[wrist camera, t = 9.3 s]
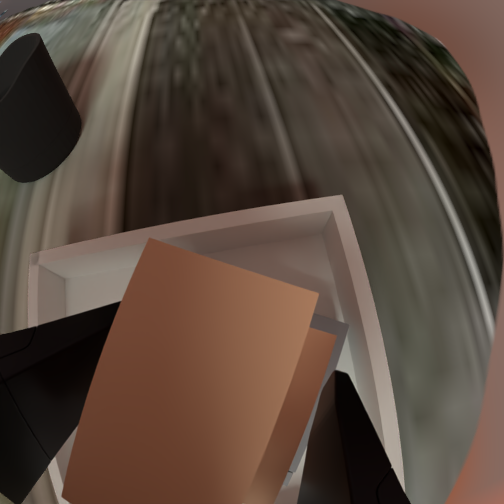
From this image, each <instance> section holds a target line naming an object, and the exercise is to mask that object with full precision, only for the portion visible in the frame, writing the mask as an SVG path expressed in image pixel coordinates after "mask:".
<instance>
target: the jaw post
mask: <svg viewBox="0 0 504 504" xmlns="http://www.w3.org/2000/svg"><path fill="white" fill-rule="evenodd" d="M318 296H319V293H316V292H313V291H310V290H307V289H304V288H301V287H298V286H294V285H291V284H288V283H285V282H282V281H279V280H276V279H273V278H270V277H266V276H263V275H260V274H257V273H254V272H251V271H248V270H245V269H242V268H239V267H236V266H233V265H230V264H227V263H224V262H221V261H218V260H215V259H212V258H209V257H206V256H203V255H200V254H197V253H194V252H191V251H188V250H185V249H182V248H179V247H176V246H173V245H170V244H167V243H164V242H161V241H158V240H155V239H152V238H150V237H149V239H148V241H147V243H146V245H145V247H144V250H143V252H142V254H141V256H140V259H139V261H138V263H137V265H136V268H135V270H134V272H133V274H132V277H131V279H130V281H129V284H128V286H127V289H126V291H125V293H124V296H123V298H122V301H121V303H120V306H119V308H118V311H117V313H116V316H115V318H114V321H113V323H112V326H111V329H110V331H109V334H108V337H107V339H106V342H105V345H104V348H103V350H102V353H101V356H100V359H99V362H98V365H97V367H96V370H95V373H94V376H93V379H92V382H91V385H90V389H89V392H88V395H87V398H86V401H85V405H84V408H83V411H82V415H81V418H80V421H79V425H78V429H77V432H76V436H75V440H74V443H73V447H72V451H71V455H70V459H69V463H68V467H67V472H66V476H65V481H64V485H63V490H62V495H61V497H62V498H63V499H65V500H66V501H68V502H69V503H71V504H242V503H244V504H274V502H275V500H276V498H277V496H278V493H279V491H280V489H281V487H282V485H283V482H284V480H285V478H286V475H287V473H288V471H289V469H290V466H291V464H292V461H293V459H294V457H295V454H296V452H297V449H298V447H299V444H300V442H301V439H302V437H303V434H304V432H305V429H306V426H307V424H308V421H309V418H310V416H311V413H312V410H313V407H314V405H315V402H316V399H317V396H318V393H319V390H320V387H321V384H322V382H323V379H324V376H325V372H326V369H327V366H328V363H329V360H330V357H331V354H332V350H333V347H334V344H335V341H336V337H337V335H333V334H330V333H327V332H323V331H320V330H317V329H314V328H310V327H309V326H310V322H311V319H312V316H313V313H314V309H315V306H316V303H317V299H318Z"/></svg>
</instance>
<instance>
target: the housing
mask: <svg viewBox="0 0 504 504" xmlns="http://www.w3.org/2000/svg"><path fill="white" fill-rule="evenodd" d="M149 237H150V238H152V239H155V240H158V241H161V242H164V243H167V244H170V245H173V246H176V247H179V248H182V249H185V250H188V251H191V252H194V253H197V254H200V255H203V256H206V257H209V258H212V259H215V260H218V261H221V262H224V263H227V264H230V265H233V266H236V267H239V268H242V269H245V270H248V271H251V272H254V273H257V274H260V275H263V276H266V277H270V278H273V279H276V280H279V281H282V282H285V283H288V284H291V285H294V286H298V287H301V288H304V289H307V290H310V291H313V292H316V293H319V296H318V299H317V303H316V306H315V309H314V313H313V316H312V319H311V322H310V326H309V327H310V328H314V329H317V330H320V331H323V332H327V333H330V334H333V335H337V337H336V341H335V344H334V347H333V350H332V354H331V357H330V360H329V363H328V366H327V369H326V372H325V376H324V379H323V382H322V384H321V387H320V390H319V393H318V396H317V399H316V402H315V405H314V407H313V410H312V413H311V416H310V418H309V421H308V424H307V426H306V429H305V432H304V434H303V437H302V439H301V442H300V444H299V447H298V449H297V452H296V454H295V457H294V459H293V461H292V464H291V466H290V469H289V471H288V473H287V475H286V478H285V480H284V482H283V485H282V487H281V489H280V491H279V493H278V496H277V498H276V500H275V502H274V504H297V500H298V495H299V490H300V484H301V479H302V474H303V468H304V462H305V456H306V450H307V444H308V439H309V435H310V431H311V428H312V424H313V421H314V417H315V413H316V410H317V406H318V402H319V398H320V395H321V391H322V389H323V387H324V385H325V384H326V382H327V380H328V379H329V377H330V375H331V374H332V372H333V371H334V370H339V371H342V372H346V373H348V374H349V376H350V378H351V380H352V382H353V384H354V386H355V388H356V390H357V392H358V395H359V397H360V399H361V401H362V403H363V405H364V407H365V409H366V411H367V413H368V415H369V417H370V420H371V422H372V424H373V426H374V428H375V430H376V432H377V434H378V437H379V439H380V441H381V443H382V445H383V447H384V449H385V452H386V454H387V456H388V458H389V460H390V462H391V465H392V467H391V468H393V469H394V471H395V473H396V475H397V478H398V480H399V482H400V484H401V486H402V488H403V490H404V492H405V486H404V473H403V463H402V453H401V445H400V437H399V429H398V422H397V415H396V408H395V402H394V396H393V390H392V384H391V379H390V373H389V368H388V363H387V358H386V353H385V348H384V343H383V339H382V334H381V330H380V325H379V321H378V317H377V312H376V308H375V304H374V300H373V296H372V292H371V288H370V285H369V281H368V277H367V273H366V270H365V266H364V263H363V259H362V256H361V252H360V249H359V245H358V242H357V239H356V235H355V232H354V229H353V226H352V222H351V219H350V216H349V213H348V210H347V207H346V204H345V201H344V198H343V195H337V196H330V197H323V198H316V199H309V200H302V201H296V202H289V203H283V204H276V205H270V206H264V207H258V208H252V209H246V210H240V211H234V212H228V213H222V214H217V215H211V216H206V217H200V218H195V219H189V220H184V221H179V222H173V223H168V224H163V225H158V226H153V227H148V228H143V229H138V230H133V231H128V232H123V233H119V234H114V235H109V236H105V237H100V238H95V239H91V240H86V241H82V242H78V243H73V244H69V245H64V246H60V247H56V248H52V249H48V250H43V251H39V252H35V253H31V254H30V261H29V278H28V328H30V327H33V326H38V325H41V324H44V323H47V322H51V321H54V320H58V319H61V318H64V317H68V316H71V315H75V314H78V313H81V312H85V311H88V310H92V309H95V308H98V307H102V306H105V305H108V304H112V303H115V302H118V301H122V298H123V296H124V293H125V291H126V289H127V286H128V284H129V281H130V279H131V277H132V274H133V272H134V270H135V268H136V265H137V263H138V261H139V259H140V256H141V254H142V252H143V250H144V247H145V245H146V243H147V241H148V239H149ZM77 429H78V426H77V427H76V429H75V430H74V431H73V433H72V434H71V435H70V437H69V438H68V439H67V441H66V442H65V443H64V445H63V446H62V447H61V449H60V450H59V452H58V453H57V454H56V456H55V457H54V458H53V460H52V461H51V463H50V464H49V466H48V469H49V473H50V477H51V480H52V483H53V487H54V490H55V493H56V496H57V499H58V502H59V504H71V503H69V502H68V501H66V500H65V499H63V498H62V497H61V495H62V490H63V485H64V481H65V476H66V472H67V467H68V463H69V459H70V455H71V451H72V447H73V443H74V440H75V436H76V432H77ZM242 504H244V503H242Z"/></svg>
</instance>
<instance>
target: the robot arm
mask: <svg viewBox="0 0 504 504" xmlns="http://www.w3.org/2000/svg"><path fill="white" fill-rule="evenodd" d="M120 303H121V301H118V302H115V303H112V304H108V305H105V306H102V307H98V308H95V309H92V310H88V311H85V312H81V313H78V314H75V315H71V316H68V317H64V318H61V319H58V320H54V321H51V322H47V323H44V324H41V325H38V326H33V327H30V328H27V329H23V330H19V331H15V332H11V333H7V334H2V335H0V493H2V494H3V495H4V496H5V497H7V498H8V499H9V500H11V501H12V502H13V503H15V504H21V503H22V502H23V501H24V499H25V498H26V496H27V495H28V493H29V492H30V491H31V489H32V488H33V486H34V485H35V484H36V482H37V481H38V479H39V478H40V477H41V475H42V474H43V472H44V471H45V470H46V468H47V467H48V466H49V464H50V463H51V461H52V460H53V458H54V457H55V456H56V454H57V453H58V452H59V450H60V449H61V447H62V446H63V445H64V443H65V442H66V441H67V439H68V438H69V437H70V435H71V434H72V433H73V431H74V430H75V429H76V427H77V426H78V425H79V421H80V418H81V415H82V411H83V408H84V405H85V401H86V398H87V395H88V392H89V389H90V385H91V382H92V379H93V376H94V373H95V370H96V367H97V365H98V362H99V359H100V356H101V353H102V350H103V348H104V345H105V342H106V339H107V337H108V334H109V331H110V329H111V326H112V323H113V321H114V318H115V316H116V313H117V311H118V308H119V306H120ZM391 467H392V465H391V462H390V460H389V458H388V456H387V454H386V452H385V449H384V447H383V445H382V443H381V441H380V439H379V437H378V434H377V432H376V430H375V428H374V426H373V424H372V422H371V420H370V417H369V415H368V413H367V411H366V409H365V407H364V405H363V403H362V401H361V399H360V397H359V395H358V392H357V390H356V388H355V386H354V384H353V382H352V380H351V378H350V376H349V374H348V373H346V372H342V371H339V370H334V371H333V372H332V374H331V375H330V377H329V379H328V380H327V382H326V384H325V385H324V387H323V389H322V391H321V395H320V398H319V402H318V406H317V410H316V413H315V417H314V421H313V424H312V428H311V431H310V435H309V439H308V444H307V450H306V456H305V462H304V468H303V474H302V479H301V484H300V490H299V495H298V500H297V504H411V503H410V501H409V499H408V498H407V496H406V494H405V492H404V490H403V488H402V486H401V484H400V482H399V480H398V478H397V475H396V473H395V471H394V469H393V468H391Z"/></svg>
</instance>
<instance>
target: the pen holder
mask: <svg viewBox="0 0 504 504" xmlns="http://www.w3.org/2000/svg"><path fill="white" fill-rule="evenodd" d="M80 129H81V118H80V115H79V113H78V111H77V109H76V107H75V105H74V103H73V101H72V99H71V97H70V95H69V93H68V91H67V89H66V87H65V85H64V83H63V81H62V79H61V77H60V75H59V74H58V72H57V69H56V67H55V65H54V63H53V61H52V59H51V57H50V55H49V53H48V51H47V49H46V47H45V45H44V42H43V40H42V38H41V36H40V34H38V33H31V34H27V35H24V36H22V37H20V38H18V39H17V40H15V41H14V42H13V43H11V44H10V45H9V46H8V47H7V49H6V50H5V51H4V52H3V53H2V55H1V56H0V169H1V170H3V171H4V172H5V173H6V174H7V175H9V176H10V177H11V178H12V179H14V180H15V181H18V182H22V183H25V182H32V181H35V180H38V179H40V178H42V177H44V176H46V175H47V174H49V173H50V172H52V171H53V170H54V169H55V168H57V167H58V166H59V165H60V164H61V163H62V162H63V161H64V159H65V158H66V157H67V156H68V155H69V153H70V152H71V150H72V149H73V147H74V145H75V144H76V142H77V139H78V137H79V133H80Z"/></svg>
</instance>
